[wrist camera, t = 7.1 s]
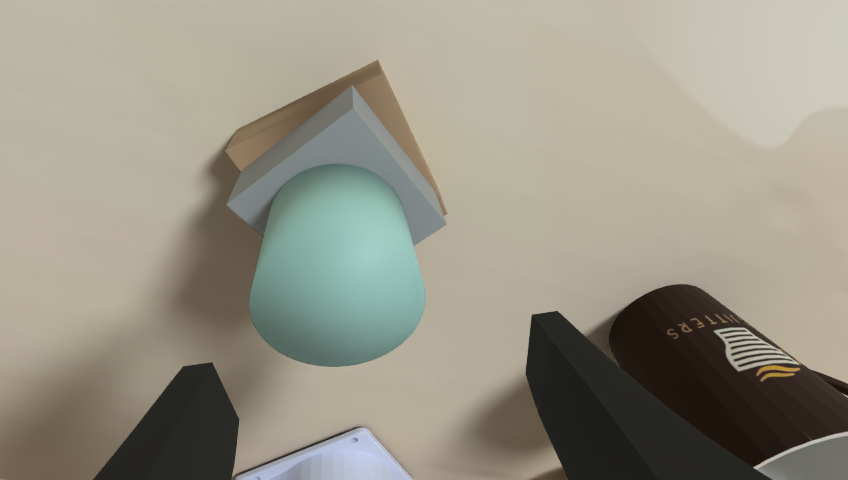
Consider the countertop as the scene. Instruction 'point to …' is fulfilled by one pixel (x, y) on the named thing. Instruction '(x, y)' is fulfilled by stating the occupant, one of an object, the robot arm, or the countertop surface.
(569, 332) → the robot arm
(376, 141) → the grey square slab
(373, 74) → the walnut block
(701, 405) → the coffee mug
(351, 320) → the teal cylinder
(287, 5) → the countertop surface
